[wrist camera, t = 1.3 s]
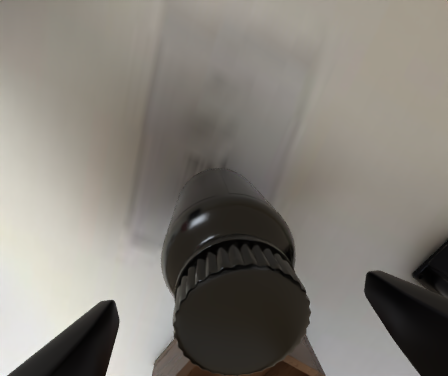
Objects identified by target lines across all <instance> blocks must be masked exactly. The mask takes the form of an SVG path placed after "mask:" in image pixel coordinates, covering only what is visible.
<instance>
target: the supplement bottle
mask: <svg viewBox="0 0 448 376" xmlns="http://www.w3.org/2000/svg"><path fill="white" fill-rule="evenodd" d="M295 257H296V252H295V244H294V239H293V236H292V233H291V231H290V229H289V227H288V225H287V224H286V222H285V221H284V219H283V218H282V217H281V215H280V214H279V213H278V212H277V211H276V210H275V209H274V208H273V207H272V206H271V205H270V203H269V202H268V201H267V200H266V199H265V198H264V197H263V196H262V195H261V194H260V193H259V192H258V191H257V190H256V189H255V187H254V186H253V185H252V184H251V183H250V182H249V181H248V180H247V179H246V178H244V177H243V176H242V175H240V174H238V173H236V172H234V171H232V170H228V169H222V168H216V169H209V170H205V171H203V172H200V173H198V174H197V175H195V176H194V177H192V178H191V179H190V180H189V181H188V182H187V183H186V184H185V186H184V187H183V189H182V191H181V193H180V195H179V198H178V200H177V203H176V206H175V209H174V212H173V215H172V218H171V221H170V224H169V228H168V231H167V234H166V237H165V240H164V243H163V248H162V254H161V268H162V274H163V278H164V281H165V283H166V286H167V287H168V289H169V291H170V293H171V294H172V296H173V297H174V298H175V308H174V315H173V326H174V337H175V339H176V340H177V345H178V348H179V349H181V350H182V351H183V355H184V356H185V357H186V358H188V359H190V362H191V363H192V364H194V365H197V366H199V368H201V369H202V370H207V371H209V372H211V373H212V374H221V375H224V376H227V375H234V376H239V375H243V374H246V375H250V374H252V373H254V372H261V371H263V370H265V369H266V368H270V367H273V366H274V365H275V364H276V363H278V362H280V361H282V360H284V359H285V357H286V356H287V355H289V354H291V353H292V352H293V351H294V349H295V347H296V346H298V345H299V344H300V343H301V339H302V338H303V336H304V335H305V334H306V328H307V327H308V325H309V324H310V321H309V317H310V314H311V311H310V308H309V304H310V301H309V298H308V296H307V295H306V290H305V288H304V286H303V284H302V283H301V281H300V280H299V278H298V277H297V275H296V274H295V271H294V267H295Z"/></svg>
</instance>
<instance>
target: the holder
mask: <svg viewBox="0 0 448 376" xmlns="http://www.w3.org/2000/svg"><path fill="white" fill-rule="evenodd" d="M152 376H224V375H221V374H212V373H211V372H209V371H207V370H202V369H201V368H199V366H197V365H194V364H192V363H191V362H190V359H188V358H186V357H185V356H184V355H183V351H182V350H181V349H179V348H178V345H177V340H176V339H174V340H173V342H172V343H171V344H170V345H169V346H168V347H167V349H166V350H165V351H164V352H163V353H162V354H161V355H160V357H159V358H158V359H157V360H156V361H155V363H154V368H153V373H152ZM227 376H234V375H227ZM239 376H326V375H325V373H324V371H323V369H322V367H321V365H320V363H319V361H318V359H317V357H316V355H315V353H314V351H313V349H312V347H311V345H310V343H309V341H308V338H307V336H306V335H304V336H303V338H302V339H301V343H300V344H299V345H298V346H296V347H295V349H294V351H293V352H292V353H291V354H289V355H287V356H286V357H285V359H284V360H282V361H280V362H278V363H276V364H275V365H274V366H273V367H270V368H266V369H265V370H263V371H261V372H254V373H252V374H250V375H246V374H243V375H239Z"/></svg>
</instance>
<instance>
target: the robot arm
mask: <svg viewBox="0 0 448 376" xmlns="http://www.w3.org/2000/svg"><path fill="white" fill-rule="evenodd" d="M413 277H414V278H415V279H416V280H417V281H418V282H419V283H421V284H422V285H423V286H424V287H426V288H427V289H428V290H427V289H424V288H422V287H419V286H417V285H414V284H412V283H409V282H407V281H405V280H402V279H400V278H397V277H395V276H392V275H390V274H387V273H385V272H382V271H369V272H368V273H367V274H366V281H365V288H364V292H365V296H366V298H367V299H368V301H369V302H370V304H371V306H372V307H373V309H374V310H375V312H376V313H377V315H378V316H379V318H380V320H381V321H382V323H383V324H384V326H385V327H386V329H387V330H388V332H389V333H390V335H391V336H392V338H393V339H394V341H395V342H396V344H397V345H398V346H399V348H400V349H401V350H402V352H403V353H404V354H405V356H406V357H407V358H408V360H409V361H410V362H411V364H412V365H413V366H414V368H415V369H416V370H417V372H418V373H419V374H420V375H421V376H448V241H447V242H446V243H444V244H443V245H442V246H441V247H440V248H439V249H438V250H437V251H436V252H435V253H434V254H433V255H432V256H431V257H430V258H429V259H428V260H427V261H426V262H424V263H423V264H422V265H421V266H420V267H419V268H418V269H417V270H416V271H415V272H414V273H413ZM118 328H119V316H118V311H117V307H116V303H115V301H114V300H107V301H101V302H99V303H98V304H97V305H96V306H94V307H93V308H92V309H90V310H89V311H88V312H87V313H85V314H84V315H83V316H82V317H80V318H79V319H78V320H77V321H75V322H74V323H73V324H72V325H70V326H69V327H68V328H67V329H65V330H64V331H63V332H62V333H60V334H59V335H58V336H57V337H55V338H54V339H53V340H51V341H50V342H49V343H48V344H46V345H45V346H44V347H43V348H41V349H40V350H39V351H38V352H36V353H35V354H34V355H33V356H31V357H30V358H29V359H28V360H26V361H25V362H24V363H23V364H21V365H20V366H19V367H17V368H16V369H15V370H14V371H12V372H11V373H10V374H9V375H7V376H105V375H106V372H107V368H108V365H109V361H110V357H111V354H112V350H113V346H114V343H115V339H116V335H117V332H118Z"/></svg>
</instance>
